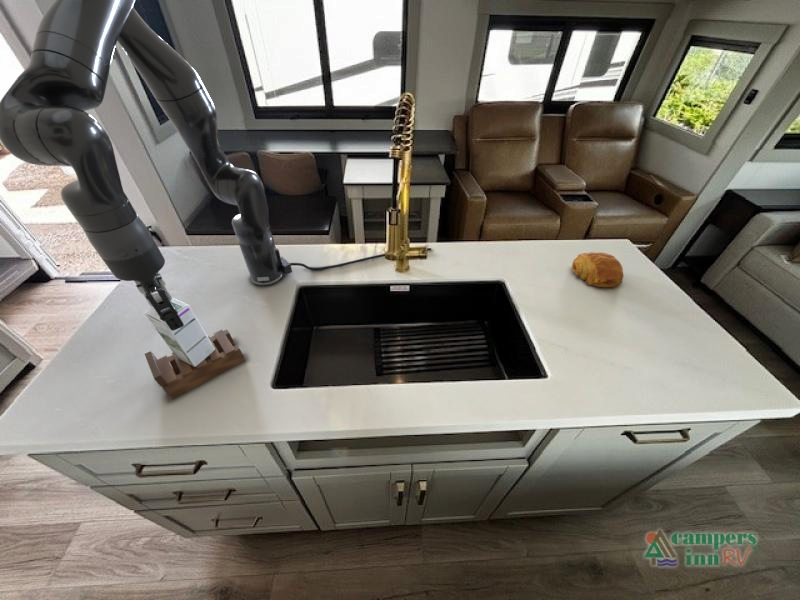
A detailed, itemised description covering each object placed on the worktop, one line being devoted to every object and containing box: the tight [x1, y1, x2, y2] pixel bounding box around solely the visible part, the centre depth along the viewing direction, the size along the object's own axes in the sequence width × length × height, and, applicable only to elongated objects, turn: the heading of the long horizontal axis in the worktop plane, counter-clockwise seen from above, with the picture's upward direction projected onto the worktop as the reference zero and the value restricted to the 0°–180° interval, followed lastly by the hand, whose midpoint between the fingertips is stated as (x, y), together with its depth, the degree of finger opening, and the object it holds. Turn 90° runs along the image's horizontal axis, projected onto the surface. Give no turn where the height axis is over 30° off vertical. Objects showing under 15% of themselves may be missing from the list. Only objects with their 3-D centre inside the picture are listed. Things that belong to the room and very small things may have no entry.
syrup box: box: [144, 296, 215, 367], centre depth 67 cm, size 6×6×14 cm
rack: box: [144, 328, 246, 400], centre depth 73 cm, size 16×8×8 cm, turn 132°
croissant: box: [571, 251, 624, 288], centre depth 104 cm, size 14×16×8 cm
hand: (171, 315), depth 64 cm, fingers open, 8 cm apart
